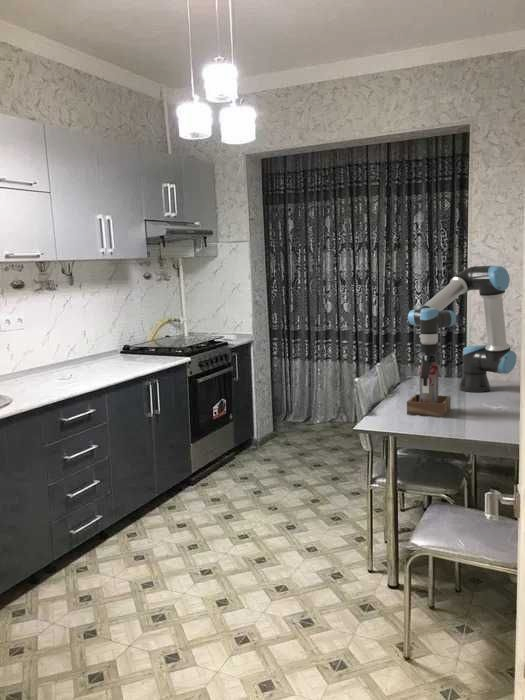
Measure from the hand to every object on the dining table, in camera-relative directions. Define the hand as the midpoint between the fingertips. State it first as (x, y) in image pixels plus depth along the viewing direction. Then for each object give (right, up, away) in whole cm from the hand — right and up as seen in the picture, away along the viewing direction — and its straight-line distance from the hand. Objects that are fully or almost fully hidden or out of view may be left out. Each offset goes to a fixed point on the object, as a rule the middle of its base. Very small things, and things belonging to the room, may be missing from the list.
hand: (429, 389), depth 265 cm
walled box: (0, -10, +1) cm, 10 cm away
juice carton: (0, -9, +1) cm, 10 cm away
